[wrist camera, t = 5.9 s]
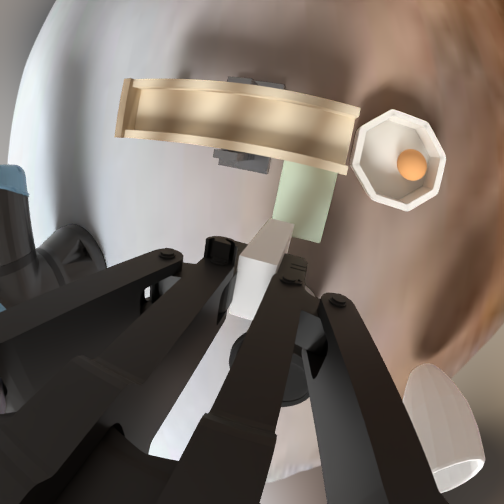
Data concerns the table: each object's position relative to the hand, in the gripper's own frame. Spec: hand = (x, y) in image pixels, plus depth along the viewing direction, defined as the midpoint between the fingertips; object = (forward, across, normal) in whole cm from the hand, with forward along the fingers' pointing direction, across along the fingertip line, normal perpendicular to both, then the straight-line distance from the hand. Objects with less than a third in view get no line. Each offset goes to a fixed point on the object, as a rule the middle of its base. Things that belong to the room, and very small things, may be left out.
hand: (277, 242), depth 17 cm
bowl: (+17, +10, +8) cm, 21 cm away
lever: (+10, -7, +4) cm, 13 cm away
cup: (+17, +25, -18) cm, 35 cm away
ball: (+15, +11, +8) cm, 20 cm away
